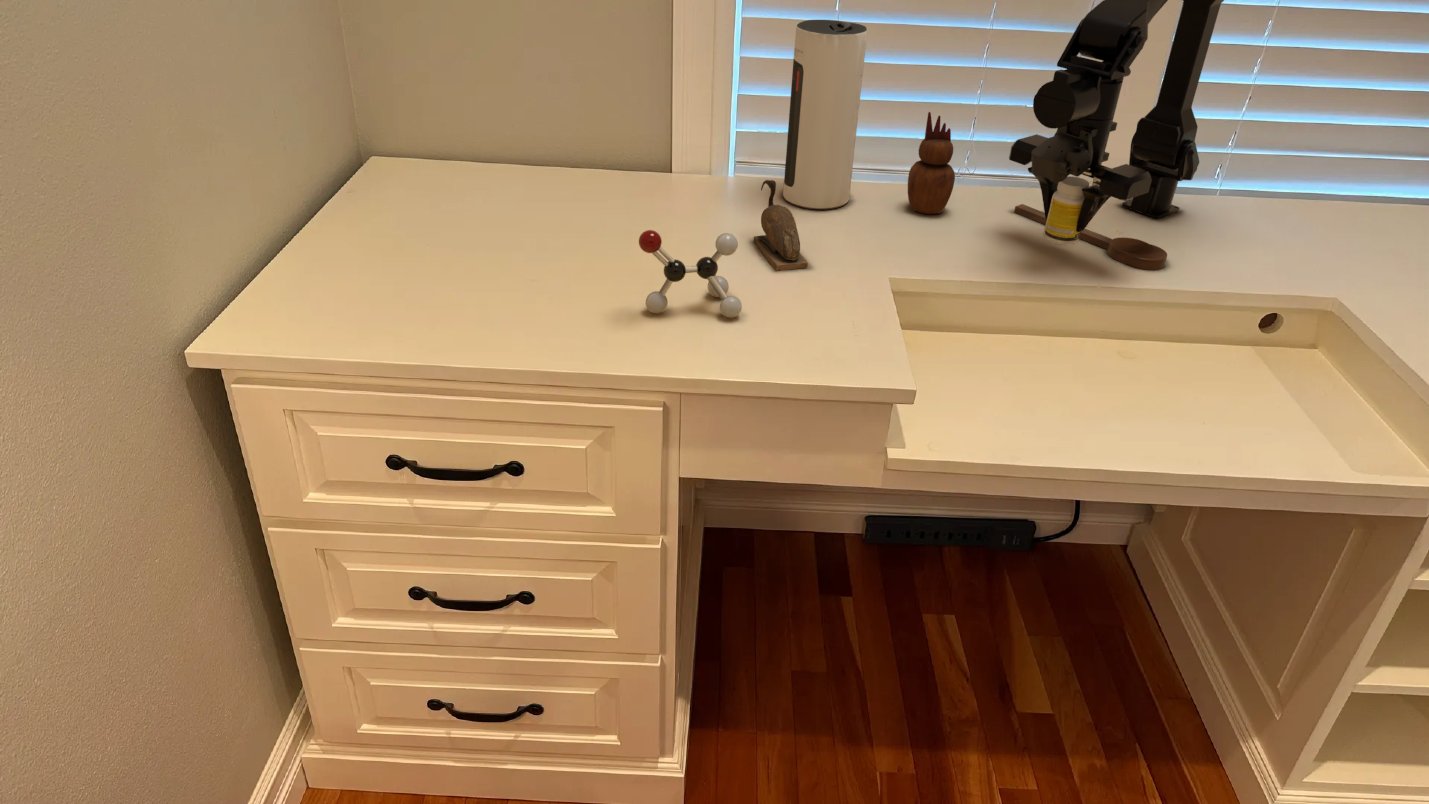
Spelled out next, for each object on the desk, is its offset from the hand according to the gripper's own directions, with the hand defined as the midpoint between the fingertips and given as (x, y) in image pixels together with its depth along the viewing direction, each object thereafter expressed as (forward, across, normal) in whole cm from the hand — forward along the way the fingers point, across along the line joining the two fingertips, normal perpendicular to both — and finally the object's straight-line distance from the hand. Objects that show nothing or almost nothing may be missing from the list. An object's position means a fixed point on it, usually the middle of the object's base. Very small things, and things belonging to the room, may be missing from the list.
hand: (1063, 225), depth 137 cm
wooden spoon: (+4, -1, +8) cm, 9 cm away
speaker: (+4, -34, -15) cm, 37 cm away
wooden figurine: (+4, -21, -4) cm, 22 cm away
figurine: (+4, -23, -33) cm, 41 cm away
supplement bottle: (+2, 0, 0) cm, 2 cm away
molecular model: (+4, -15, -54) cm, 56 cm away
